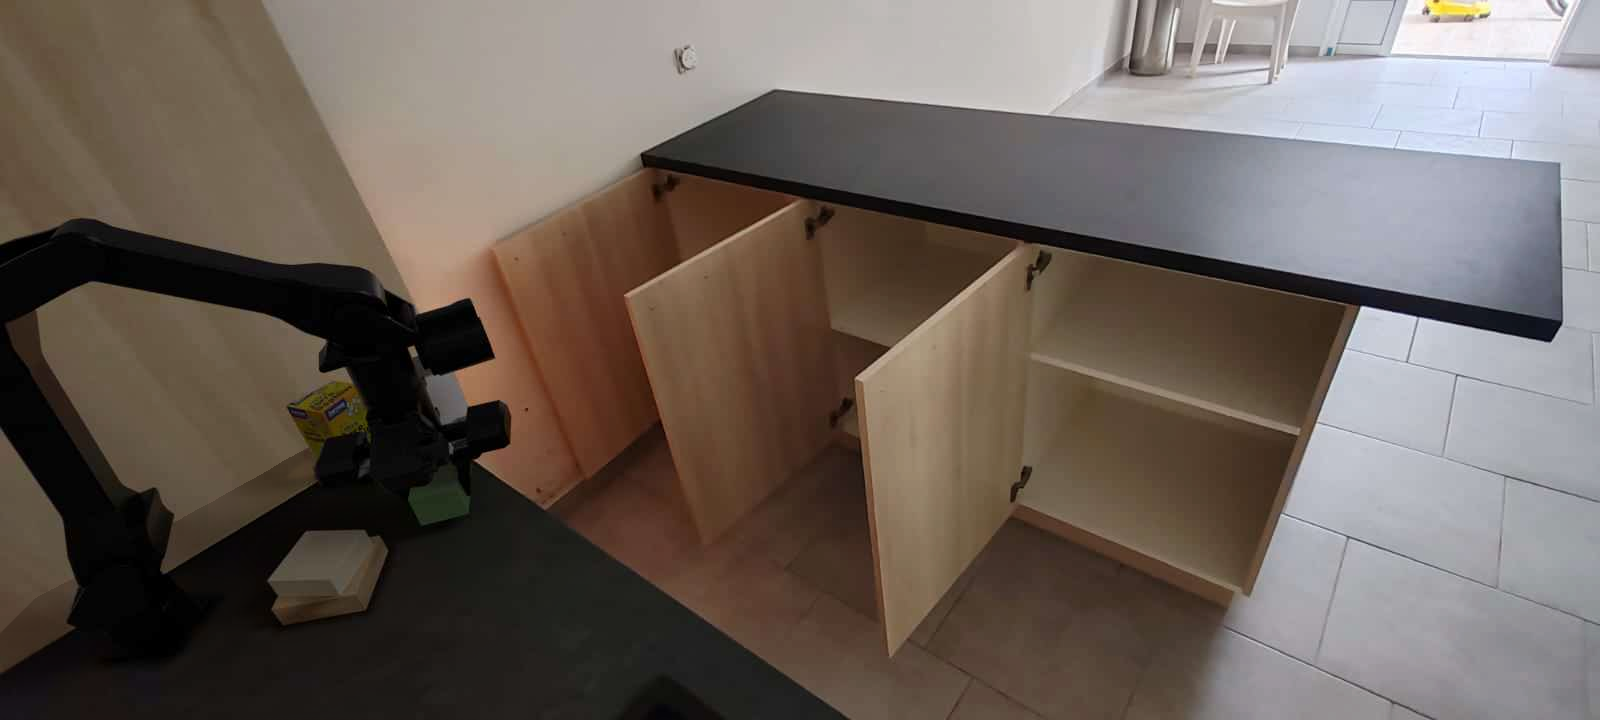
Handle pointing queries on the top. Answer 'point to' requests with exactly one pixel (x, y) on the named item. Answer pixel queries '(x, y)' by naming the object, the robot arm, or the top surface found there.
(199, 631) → the top surface
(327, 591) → the cream middle block
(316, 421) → the supplement box
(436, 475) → the green block
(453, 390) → the can
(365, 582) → the birch base block
